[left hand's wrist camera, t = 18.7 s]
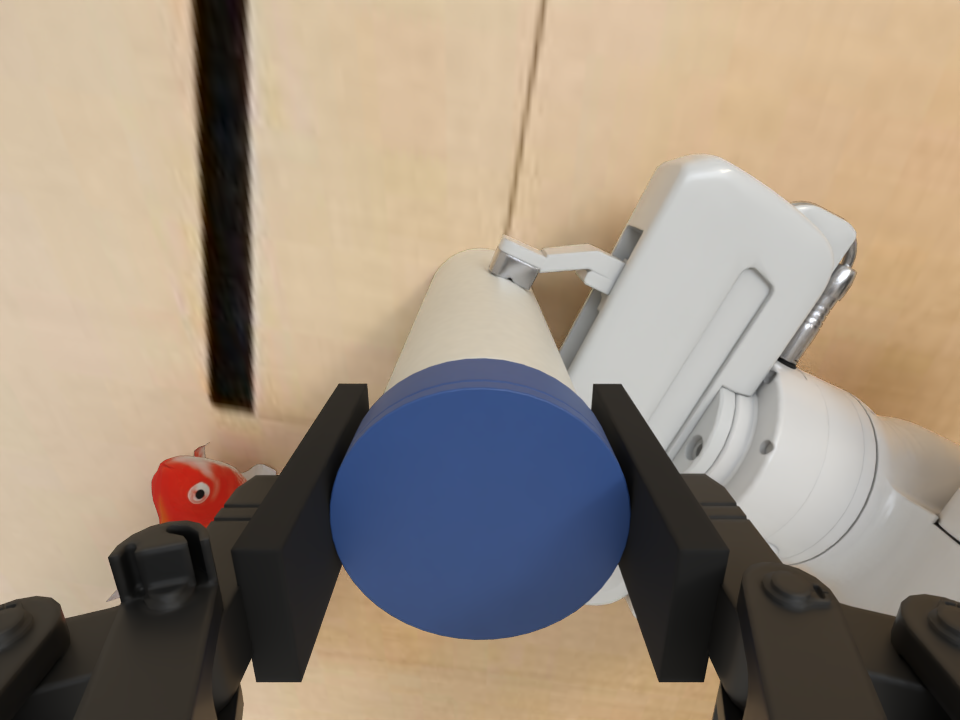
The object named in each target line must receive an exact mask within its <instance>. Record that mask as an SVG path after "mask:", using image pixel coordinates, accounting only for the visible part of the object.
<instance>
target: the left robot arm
mask: <svg viewBox="0 0 960 720" xmlns="http://www.w3.org/2000/svg"><path fill="white" fill-rule="evenodd" d="M368 411H369V401H368V388H367V384H338V386H337V387H336V389H335V390H334V392H333V394H332V395H331V397H330V398H329V400H328V401H327V403H326V404H325V406H324V407H323V409H322V410H321V412H320V414H319V415H318V417H317V418H316V420H315V421H314V423H313V424H312V426H311V427H310V429H309V430H308V432H307V433H306V435H305V437H304V438H303V440H302V441H301V443H300V444H299V446H298V447H297V449H296V450H295V452H294V453H293V455H292V457H291V458H290V460H289V461H288V463H287V464H286V466H285V467H284V469H283V470H282V472H281V473H280V475H255V476H254V477H252V478H251V479H250V480H248V481H247V482H245V483H244V484H242V485H241V486H239V487H238V488H236V489H235V491H234V492H233V493H232V495H231V496H230V497H229V499H228V500H227V501H226V503H225V504H224V508H221V509H220V511H219V512H218V513H217V514H216V516H215V517H214V521H211V522H210V524H209V525H208V526H207V528H205V527H204V526H203V525H202V524H200V523H197V522H192V521H188V520H183V521H169V522H165V523H162V524H158V525H154V526H151V527H148V528H146V529H144V530H142V531H140V532H138V533H135V534H133V535H132V536H130V537H129V538H127V539H126V540H125V541H123V542H122V543H120V544H119V545H118V546H117V547H116V548H115V549H114V551H113V552H112V553H111V554H110V556H109V557H108V559H109V562H110V566H111V569H112V573H113V576H114V579H115V583H116V586H117V590H118V593H119V596H120V600H121V604H120V605H119V606H116V607H112V608H109V609H104V610H100V611H96V612H91V613H87V614H83V615H78V616H74V617H70V618H65V617H64V615H63V612H62V609H61V606H60V604H59V603H58V602H56V601H55V600H54V599H52V598H49V597H40V596H34V597H28V598H22V599H16V600H14V601H11V602H8V603H5V604H2V605H0V720H242V715H243V706H244V703H243V695H242V690H241V685H240V682H241V680H242V678H243V675H244V673H245V671H246V669H247V667H248V665H249V662H250V660H251V658H252V662H253V667H254V672H255V677H256V682H301V681H302V679H303V676H304V673H305V670H306V667H307V664H308V661H309V658H310V655H311V653H312V650H313V647H314V644H315V641H316V638H317V635H318V632H319V630H320V627H321V624H322V621H323V618H324V615H325V612H326V609H327V606H328V604H329V601H330V598H331V595H332V592H333V589H334V586H335V583H336V581H337V578H338V575H339V572H340V569H341V566H342V562H341V560H340V558H339V556H338V554H337V551H336V548H335V545H334V542H333V539H332V533H331V526H330V499H331V493H332V487H333V484H334V481H335V478H336V475H337V472H338V470H339V467H340V465H341V463H342V461H343V459H344V457H345V455H346V453H347V450H348V448H349V446H350V444H351V442H352V440H353V438H354V435H355V433H356V431H357V429H358V427H359V426H360V424H361V422H362V420H363V418H364V417H365V415H366V414H367V413H368ZM591 411H592V412H593V413H594V415H595V416H596V418H597V420H598V421H599V423H600V425H601V426H602V428H603V431H604V433H605V435H606V437H607V439H608V441H609V443H610V446H611V448H612V450H613V452H614V454H615V456H616V458H617V461H618V463H619V465H620V467H621V470H622V472H623V475H624V477H625V479H626V483H627V488H628V492H629V496H630V508H631V517H630V528H629V534H628V538H627V543H626V547H625V549H624V552H623V554H622V557H621V559H620V562H619V563H618V565H619V568H620V571H621V574H622V577H623V580H624V583H625V586H626V589H627V591H628V594H629V597H630V600H631V603H632V606H633V609H634V612H635V614H636V617H637V620H638V623H639V626H640V629H641V632H642V635H643V638H644V640H645V643H646V646H647V649H648V652H649V655H650V658H651V661H652V663H653V666H654V669H655V672H656V675H657V678H658V681H659V682H704V679H705V673H706V668H707V663H708V658H709V657H710V659H711V661H712V664H713V666H714V668H715V670H716V672H717V674H718V676H719V679H720V685H719V689H718V694H717V699H716V704H715V708H714V713H713V718H712V720H960V602H957V601H955V600H951V599H948V598H946V597H940V596H934V595H929V594H919V595H910V596H908V597H907V598H906V599H904V600H903V601H902V602H901V604H900V607H899V610H898V613H897V615H896V616H892V615H887V614H883V613H879V612H874V611H870V610H866V609H861V608H857V607H853V606H849V605H846V604H842V603H839V601H838V600H837V598H836V597H835V595H834V594H833V592H832V591H831V590H830V589H829V588H828V587H827V586H826V585H825V584H823V583H822V582H821V581H820V580H819V579H817V578H816V577H814V576H812V575H810V574H809V573H807V572H805V571H803V570H801V569H799V568H796V567H793V566H789V565H786V564H783V563H782V562H781V560H780V559H779V558H778V556H777V555H776V554H775V553H774V551H773V550H772V549H771V547H770V546H769V545H768V543H767V542H766V541H765V539H764V538H763V537H762V535H761V534H760V533H759V532H758V530H757V529H756V528H755V526H754V525H753V524H752V522H751V521H750V520H749V519H747V516H746V515H745V513H744V512H743V511H742V509H741V508H740V507H739V506H737V503H736V501H735V500H734V499H733V497H732V496H731V495H730V494H729V492H728V491H727V490H726V488H725V487H724V486H722V485H721V484H719V483H718V482H716V481H715V480H713V479H712V478H711V477H709V476H708V475H706V474H705V473H679V472H678V470H677V468H676V467H675V465H674V464H673V462H672V461H671V459H670V458H669V456H668V455H667V453H666V452H665V450H664V448H663V447H662V445H661V444H660V442H659V441H658V439H657V438H656V436H655V435H654V433H653V432H652V430H651V429H650V427H649V425H648V424H647V422H646V421H645V419H644V418H643V416H642V415H641V413H640V412H639V410H638V409H637V407H636V405H635V404H634V402H633V401H632V399H631V398H630V396H629V395H628V393H627V392H626V390H625V389H624V387H623V385H622V384H593V391H592V404H591Z"/></svg>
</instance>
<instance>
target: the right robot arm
mask: <svg viewBox="0 0 960 720" xmlns="http://www.w3.org/2000/svg"><path fill="white" fill-rule="evenodd" d="M856 253H857V239H856V231H855V230H854V228H853V227H852V226H851V225H850V224H849V223H848V222H847V221H846V220H845V219H844V218H842V217H840V216H838V215H836V214H834V213H832V212H830V211H829V210H827V209H825V208H823V207H821V206H819V205H817V204H815V203H812V202H806V201H795V202H790V203H789V202H788V201H787V200H785V199H784V198H783V197H781V196H780V195H779V194H777V193H776V192H775V191H773V190H772V189H771V188H769V187H768V186H766V185H765V184H764V183H762V182H761V181H759V180H758V179H756V178H755V177H753V176H752V175H750V174H748V173H747V172H745V171H744V170H742V169H740V168H739V167H737V166H735V165H734V164H732V163H730V162H728V161H726V160H724V159H722V158H720V157H718V156H714V155H709V154H691V155H686V156H682V157H679V158H676V159H673V160H670V161H667V162H664V163H662V164H661V165H659V166H658V167H657V169H656V170H655V172H654V173H653V175H652V177H651V179H650V181H649V183H648V185H647V186H646V188H645V190H644V192H643V194H642V196H641V198H640V200H639V201H638V203H637V205H636V207H635V209H634V211H633V213H632V215H631V216H630V218H629V220H628V222H627V224H626V226H625V228H624V230H623V231H622V233H621V235H620V237H619V239H618V241H617V243H616V245H615V246H614V248H613V250H612V252H611V254H610V253H608V252H605V251H603V250H601V249H599V248H597V247H595V246H593V245H591V244H588V243H586V244H577V245H568V246H558V247H549V248H542V250H541V251H540V250H538V249H536V248H534V247H532V246H530V245H528V244H525V243H523V242H521V241H519V240H517V239H515V238H513V237H510V236H507V235H504V234H503V235H502V238H501V240H500V242H499V244H498V246H497V249H496V251H495V253H494V255H493V258H492V260H491V262H490V265H489V271H490V272H491V273H493V274H495V275H496V276H498V277H501V278H504V279H508V278H511V279H512V281H513V282H514V283H515V284H517V285H518V286H520V287H522V288H525V289H527V290H530V288H531V286H532V284H533V282H534V280H535V278H536V276H537V274H538V272H539V273H546V272H558V271H570V270H575V273H576V275H577V276H578V277H579V278H580V279H581V280H582V281H583V283H584V284H586V285H588V286H590V287H592V289H591V291H590V293H589V295H588V297H587V299H586V301H585V303H584V304H583V306H582V308H581V310H580V312H579V314H578V316H577V317H576V319H575V321H574V323H573V325H572V327H571V329H570V331H569V332H568V334H567V336H566V338H565V340H564V342H563V344H562V346H561V347H560V349H559V353H560V356H561V358H562V360H563V363H564V365H565V367H566V370H567V372H568V375H569V377H570V379H571V382H572V384H573V386H574V389H575V391H576V393H577V395H578V396H579V397H580V398H581V399H582V400H583V401H584V402H585V403H586V405H587V406H588V407H589V408H590V409H591V404H592V391H593V384H622V385H623V387H624V389H625V390H626V392H627V393H628V395H629V396H630V398H631V399H632V401H633V402H634V404H635V405H636V407H637V409H638V410H639V412H640V413H641V415H642V416H643V418H644V419H645V421H646V422H647V424H648V425H649V427H650V429H651V430H652V432H653V433H654V435H655V436H656V438H657V439H658V441H659V442H660V444H661V445H662V447H663V448H664V450H665V452H666V453H667V455H668V456H669V458H670V459H671V461H672V462H673V464H674V465H675V467H676V468H677V470H678V472H679V473H705V474H706V475H708V476H709V477H711V478H712V479H713V480H715V481H716V482H718V483H719V484H721V485H722V486H724V487H725V488H726V490H727V491H728V492H729V494H730V495H731V496H732V497H733V499H734V500H735V501H736V503H737V506H739V507H740V508H741V509H742V511H743V512H744V513H745V515H746V516H747V519H749V520H750V521H751V522H752V524H753V525H754V526H755V528H756V529H757V530H758V532H759V533H760V534H761V535H762V537H763V538H764V539H765V541H766V542H767V543H768V545H769V546H770V547H771V549H772V550H773V551H774V553H775V554H776V555H777V556H778V558H779V559H780V560H781V562H782V563H783V564H786V565H789V566H793V567H796V568H799V569H801V570H803V571H805V572H807V573H809V574H810V575H812V576H814V577H816V578H817V579H819V580H820V581H821V582H822V583H823V584H825V585H826V586H827V587H828V588H829V589H830V590H831V591H832V592H833V594H834V595H835V597H836V598H837V600H838V601H839V603H842V604H846V605H849V606H853V607H857V608H861V609H866V610H870V611H874V612H879V613H883V614H887V615H892V616H896V615H897V613H898V610H899V607H900V604H901V602H902V601H903V600H904V599H906V598H907V597H908V596H910V595H919V594H929V595H934V596H940V597H946V598H948V599H951V600H955V601H957V602H960V445H958V444H957V443H955V442H953V441H951V440H949V439H947V438H945V437H943V436H941V435H939V434H937V433H935V432H933V431H931V430H928V429H926V428H924V427H922V426H920V425H917V424H915V423H913V422H910V421H906V420H903V419H899V418H894V417H888V416H878V415H876V414H875V413H874V412H873V411H872V410H871V409H870V408H869V407H868V406H867V405H866V404H865V403H863V402H862V401H861V400H860V399H858V398H857V397H855V396H854V395H852V394H850V393H849V392H847V391H845V390H843V389H841V388H839V387H837V386H834V385H832V384H830V383H828V382H826V381H824V380H821V379H819V378H817V377H815V376H813V375H811V374H809V373H807V372H804V371H802V370H800V369H798V368H797V367H796V364H797V363H798V361H799V360H800V359H801V357H802V356H803V354H804V353H805V351H806V350H807V349H808V347H809V346H810V344H811V343H812V341H813V340H814V339H815V337H816V335H817V334H818V332H819V330H820V329H819V328H821V327H822V325H823V323H822V322H824V321H825V319H826V318H827V317H826V316H828V314H829V313H830V310H832V308H833V307H834V306H835V304H836V303H837V301H840V300H841V299H842V298H843V297H844V296H845V294H846V293H847V292H848V290H849V289H850V287H851V285H852V283H853V281H854V279H855V277H856V274H857V272H856V271H855V270H854V269H852V268H851V267H852V265H853V263H854V260H855V258H856ZM842 258H843V260H842ZM841 260H842V263H841V264H840V263H839V262H840V261H841ZM622 598H625V600H626V602H627V604H628V606H629V608H630V610H631V612H632V614H633V616H634V617H635V618H636V619H637V617H636V614H635V612H634V609H633V606H632V603H631V600H630V597H629V594H628V591H627V589H626V586H625V583H624V580H623V577H622V574H621V571H620V568H619V565H617V567H616V569H615V570H614V572H613V574H612V575H611V577H610V578H609V579H608V581H607V582H606V583H605V585H604V586H603V587H602V588H601V590H600V591H599V592H597V593H596V594H595V595H594V596H593V597H592V598H591V599H590V600H589V601H588V602H587V603H586V604H584V605H597V606H598V605H606V604H610V603H614V602H616V601H618V600H620V599H622Z"/></svg>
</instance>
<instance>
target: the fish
mask: <svg viewBox="0 0 960 720" xmlns="http://www.w3.org/2000/svg"><path fill="white" fill-rule="evenodd" d="M209 443H210V442H209ZM207 444H208V443H207ZM207 444H206V445H207ZM194 456H195V457H194ZM194 456H177V457H173V458H170V459H167V460H165V461H163V462H162V463H160V466H159V468H158V471H157V472H156V473H155V475H154V476H153V479H152V496H153V501H154V504H155V507H156V510H157V513H158V516H159V521H160V524H162V523H165V522H169V521H183V520H188V521H192V522H197V523H200V524H202V525H203V526H204V527H205V528H207V526H208V525H209V524H210V522H211V521H214V517H215V516H216V514H217V513H218V512H219V511H220V509H221V508H224V504H225V503H226V501H227V500H228V499H229V497H230V496H231V495H232V493H233V492H234V491H235V489H236V488H238V487H239V486H241V485H242V484H244V483H245V482H247V481H248V480H250V479H251V478H252V477H254V476H255V475H276V471H275V470H274V469H272V468H270V467H268V466H265V465H263V464H257V465H255V466H254V467H252V468H251V469H250V470H248V471H247V472H244V473H240V472H239V471H238V470H237V469H236V468H234V467H233V466H231V465H229V464H226V463H223V462H220V461H216V460H212V459H207V458H206V457H205V445H204V446H201V447H199V448H197V449H196V450H195V451H194ZM116 598H120V596H119V593H118V590H116V591H115V592H114V594H113V595H112V596H111V597H110V598H109V599H108V600H107V601H106V602H108V601H111V600H114V599H116Z"/></svg>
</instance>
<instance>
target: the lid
mask: <svg viewBox="0 0 960 720" xmlns="http://www.w3.org/2000/svg"><path fill="white" fill-rule="evenodd" d="M630 517H631V508H630V496H629V492H628V488H627V483H626V479H625V477H624V475H623V472H622V470H621V467H620V465H619V463H618V461H617V458H616V456H615V454H614V452H613V450H612V448H611V446H610V443H609V441H608V439H607V437H606V435H605V433H604V431H603V428H602V426H601V425H600V423H599V421H598V420H597V418H596V416H595V415H594V413H593V412H592V411H591V409H590V408H589V407H588V406H587V405H586V403H585V402H584V401H583V400H582V399H581V398H580V397H579V396H578V395H577V394H576V393H575V392H573V391H572V390H571V389H570V388H569V387H567V386H566V385H564V384H563V383H561V382H560V381H559V380H557V379H556V378H554V377H552V376H550V375H548V374H546V373H544V372H542V371H540V370H538V369H535V368H532V367H529V366H526V365H524V364H520V363H515V362H511V361H506V360H499V359H488V358H474V359H461V360H455V361H448V362H444V363H441V364H437V365H434V366H430V367H428V368H425V369H423V370H421V371H418V372H416V373H414V374H412V375H410V376H408V377H407V378H405V379H403V380H402V381H400V382H398V383H397V384H396V385H394V386H393V387H392V388H391V389H389V390H388V391H387V392H386V393H384V394H383V395H382V396H381V397H380V398H379V399H378V400H377V401H376V403H375V404H374V405H373V406H372V407H371V408H370V410H369V411H368V413H367V414H366V415H365V417H364V418H363V420H362V422H361V424H360V426H359V427H358V429H357V431H356V433H355V435H354V438H353V440H352V442H351V444H350V446H349V448H348V450H347V453H346V455H345V457H344V459H343V461H342V463H341V465H340V467H339V470H338V472H337V475H336V478H335V481H334V484H333V487H332V493H331V499H330V526H331V533H332V539H333V542H334V545H335V548H336V551H337V554H338V556H339V558H340V560H341V562H342V564H343V567H344V569H345V570H346V572H347V573H348V575H349V576H350V578H351V579H352V580H353V582H354V583H355V584H356V585H357V587H358V588H359V589H360V590H361V591H362V592H363V593H364V595H366V596H367V597H368V598H369V599H370V600H371V601H372V602H373V603H375V604H376V605H377V606H378V607H380V608H381V609H383V610H384V611H385V612H387V613H388V614H390V615H391V616H393V617H395V618H397V619H399V620H400V621H402V622H404V623H406V624H408V625H411V626H413V627H416V628H418V629H421V630H423V631H427V632H430V633H434V634H437V635H441V636H447V637H452V638H458V639H472V640H488V639H500V638H508V637H514V636H518V635H523V634H527V633H531V632H533V631H536V630H539V629H542V628H545V627H547V626H550V625H552V624H554V623H556V622H558V621H560V620H562V619H564V618H565V617H567V616H569V615H570V614H572V613H574V612H575V611H577V610H578V609H579V608H581V607H582V606H583V605H584V604H586V603H587V602H588V601H589V600H590V599H591V598H592V597H593V596H594V595H595V594H596V593H597V592H599V591H600V590H601V588H602V587H603V586H604V585H605V583H606V582H607V581H608V579H609V578H610V577H611V575H612V574H613V572H614V570H615V569H616V567H617V565H618V563H619V562H620V559H621V557H622V554H623V552H624V549H625V547H626V543H627V538H628V534H629V528H630Z"/></svg>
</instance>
